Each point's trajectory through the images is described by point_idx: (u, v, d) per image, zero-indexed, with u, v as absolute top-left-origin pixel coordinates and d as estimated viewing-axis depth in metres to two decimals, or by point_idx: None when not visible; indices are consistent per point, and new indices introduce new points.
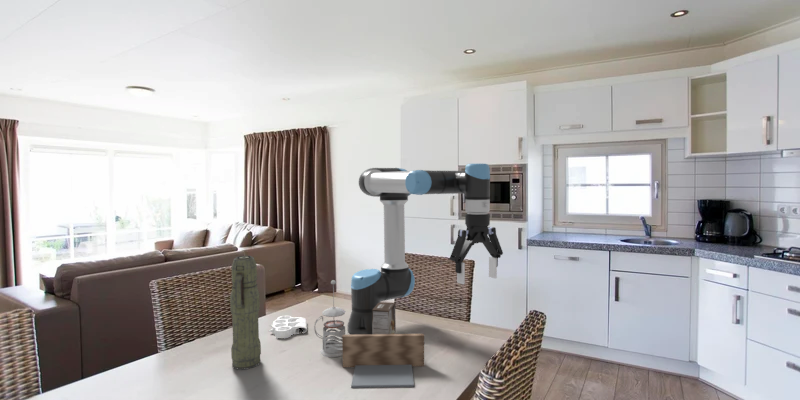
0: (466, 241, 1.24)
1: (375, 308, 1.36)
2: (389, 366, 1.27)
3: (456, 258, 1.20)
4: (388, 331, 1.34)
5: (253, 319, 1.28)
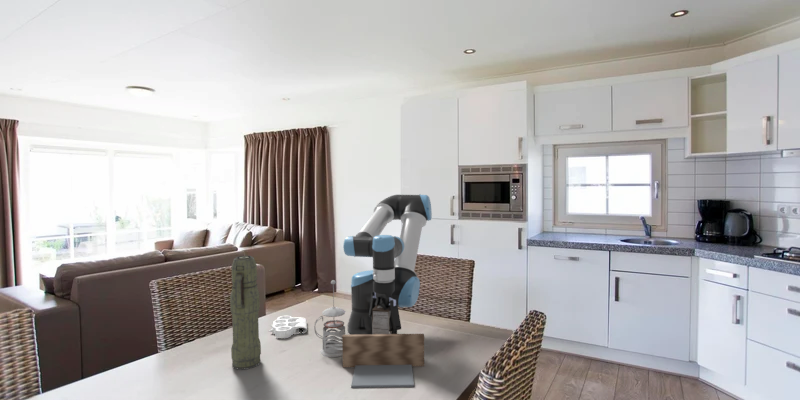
0: None
1: (375, 308, 1.36)
2: (389, 366, 1.27)
3: (369, 314, 1.45)
4: (388, 331, 1.34)
5: (253, 319, 1.28)
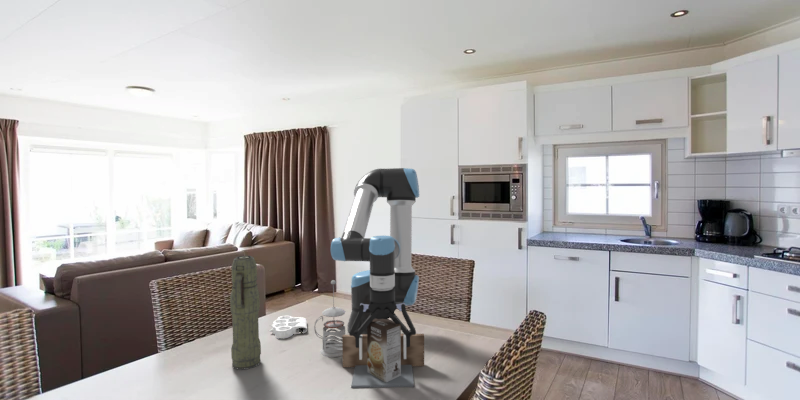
0: (369, 315, 1.21)
1: (384, 326, 1.17)
2: None
3: (351, 332, 1.20)
4: (399, 347, 1.20)
5: (253, 319, 1.28)
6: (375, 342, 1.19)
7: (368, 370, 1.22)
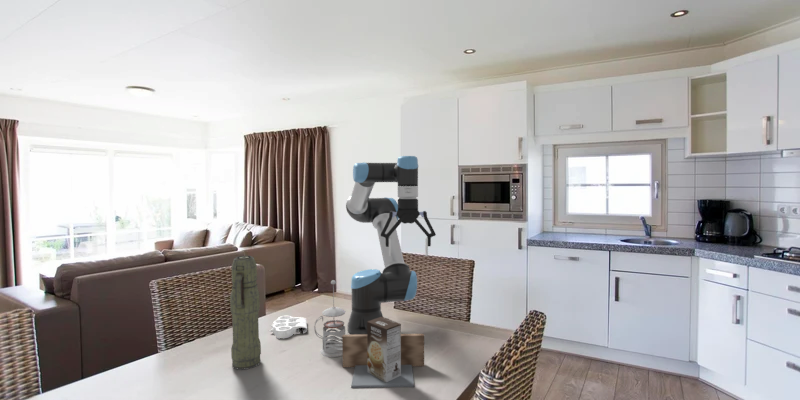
0: (397, 221, 1.49)
1: (384, 326, 1.17)
2: None
3: (382, 234, 1.47)
4: (399, 347, 1.20)
5: (253, 319, 1.28)
6: (376, 342, 1.19)
7: (368, 370, 1.22)
